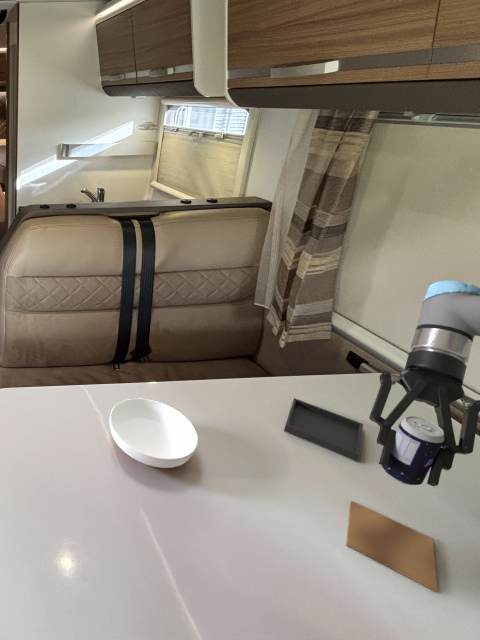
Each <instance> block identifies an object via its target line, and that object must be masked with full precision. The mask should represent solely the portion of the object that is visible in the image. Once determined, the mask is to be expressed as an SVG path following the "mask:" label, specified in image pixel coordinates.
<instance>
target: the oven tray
mask: <svg viewBox="0 0 480 640" xmlns="http://www.w3.org/2000/svg"><path fill="white" fill-rule="evenodd" d="M283 431H284V432H286V433H288V434H289V435H292V436H295V437H297V438H299V439H303V440H305V441H307V442H309V443H312V444H314V445H317V446H318V447H321V448H324V449H326V450H329V451H331V452H333V453H335V454H338V455H341V456H343V457H345V458H348V459H350V460H353V461H355V462H357V463H358V462H359V460H360V457H361V455H362V443H363V431H364V423H362V422H359V421H356V420H354V419H352V418H349V417H346V416H344V415H341V414H338V413H335V412H332V411H330V410H327V409H325V408H321V407H319V406H317V405H314V404H311V403H308V402H306V401H303V400H301V399H298V398H293V400H292V402H291V406H290V409H289V412H288V416H287V419H286V422H285V426H284V429H283Z"/></svg>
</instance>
